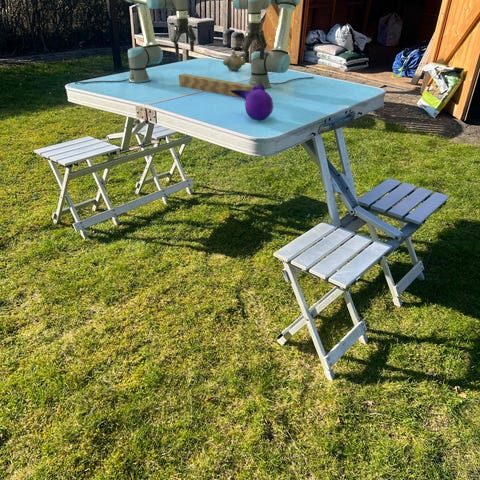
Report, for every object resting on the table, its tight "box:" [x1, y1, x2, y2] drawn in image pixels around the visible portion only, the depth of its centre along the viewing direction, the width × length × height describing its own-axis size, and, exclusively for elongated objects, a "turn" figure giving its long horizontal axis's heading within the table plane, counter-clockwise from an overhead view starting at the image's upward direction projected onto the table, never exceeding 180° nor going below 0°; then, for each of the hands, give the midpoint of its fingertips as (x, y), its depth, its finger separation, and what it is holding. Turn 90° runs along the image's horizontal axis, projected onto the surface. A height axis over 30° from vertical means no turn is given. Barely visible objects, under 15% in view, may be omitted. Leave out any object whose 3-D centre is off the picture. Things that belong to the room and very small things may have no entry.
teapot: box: [222, 51, 246, 72], centre depth 365 cm, size 21×12×15 cm, turn 120°
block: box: [178, 73, 254, 99], centre depth 300 cm, size 74×6×8 cm, turn 47°
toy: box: [231, 85, 274, 121], centre depth 242 cm, size 16×18×27 cm
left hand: (184, 52), depth 309 cm, fingers open, 13 cm apart
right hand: (254, 61), depth 271 cm, fingers open, 13 cm apart
